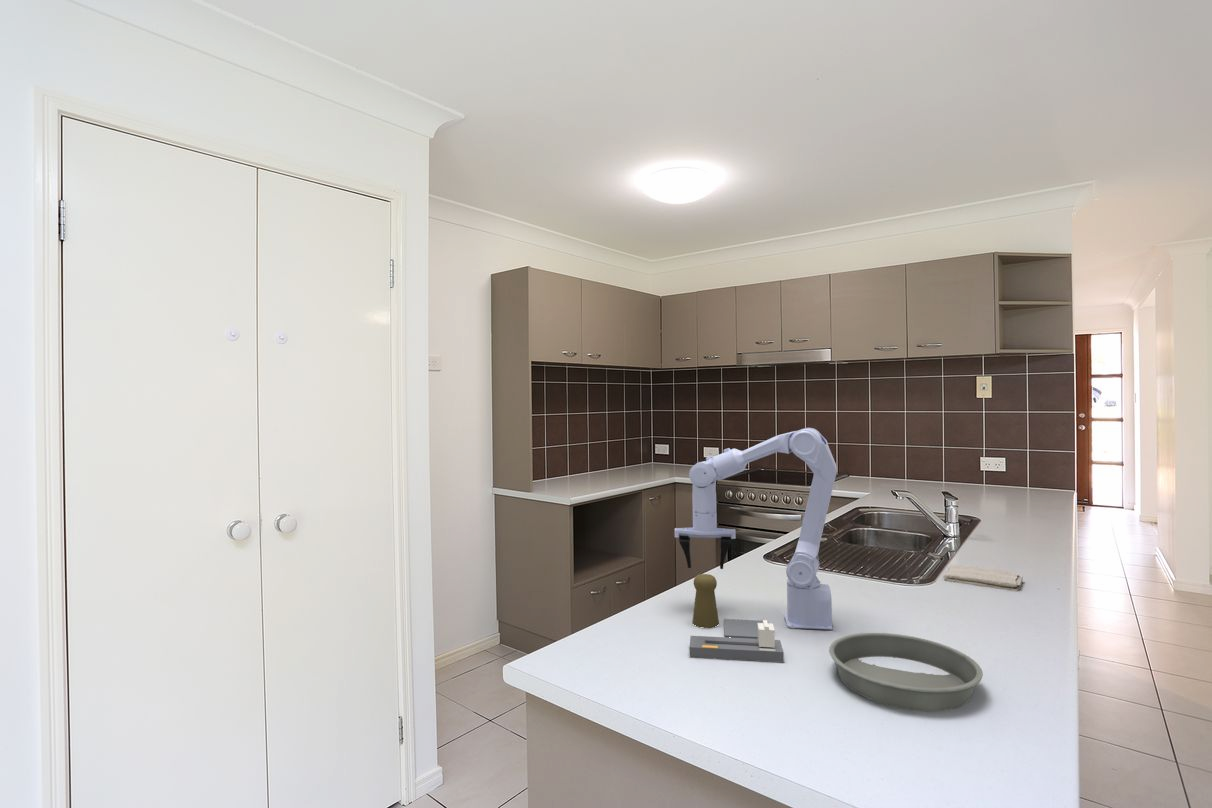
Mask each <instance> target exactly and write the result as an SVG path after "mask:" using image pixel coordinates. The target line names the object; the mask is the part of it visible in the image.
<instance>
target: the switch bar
mask: <svg viewBox="0 0 1212 808" xmlns="http://www.w3.org/2000/svg"><path fill="white" fill-rule="evenodd" d="M784 654H785V652H784V649H783V646H782V642H781V639H775V648H773V647H759V644H758V639H749V638H729V637H724V636H705V635H704V636H703V635H690V639H689V658H695V659H696V658H699V659H713V658H716V659H715V660H717V659H718V660H731V659H732V660H733V661H734V660H735V661H751V660H752V661H754V662H767V661H770V663H771V662H773V663H785V662H784V659H785V658H784V656H785V655H784ZM732 660H731V661H732ZM752 661H751V662H752Z"/></svg>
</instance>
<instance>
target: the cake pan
mask: <svg viewBox="0 0 1212 808" xmlns="http://www.w3.org/2000/svg"><path fill="white" fill-rule="evenodd" d="M828 653H829V655H830V657H831V659H832V661H834V662H835V664H836V667H837V671H838V675H839V679H840V680H841V681H842V683H844V685H845V686H847V687H848V688H849V690H852V691H853V692H855V693H857V694H858V695H861V696H863V697H865V698H867V699H869V700H871V701H875V702H878V703H880V704H883V705H887V706H891V707H895V708H899V709H903V710H904V709H905V710H912V711H923V712H938V711H939V712H941V711H950V710H955V709H958V708H961V707H963V706H965V705H966V704H968V702H969V701H971V698H972V694H973V692H974V688H975V687H976V686H977V685H978V684H979V683H980V682H981V681H982V678H983V676H984V675H983V670H982V667H981V666H980V664H978V662H976V661H975V660H974V659H973V658H971V657H970V656H969V655H967V654H965V653H964V652H962V651H959V650H958V649H955V648H952V647H950V646H948V645H945V644H943V643H939V642H937V641H933V640H929V639H925V638H921V637H917V636H910V635H906V634H900V633H899V634H897V633H890V632H889V633H888V632H860V633H853V634H849V635H845V636H842V637H838V638H837V639H835V640H834V641H833V642H832V643H831V644H830V646H829V649H828ZM876 657H877V658H878V657H880V658H893V659H895V658H896V659H902V660H909V661H913V662H918V663H921V664H924V665H928V666H931V667H934V668H937V669H939V670H942V671H944V672H945V673H947V674H944V675H943V674H933V673H925V672H914V671H907V670H902V669H901V670H900V669H896V668H889V667H884V666H878V665H877V664H875V663H874V664H870V663H867V662H865V661H863V660H862V659H864V658H876Z"/></svg>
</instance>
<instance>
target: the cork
mask: <svg viewBox="0 0 1212 808" xmlns="http://www.w3.org/2000/svg"><path fill="white" fill-rule="evenodd" d="M717 584H718V582H717V579H716V576H714V575H712V574H709V573H701V574H697V575H695V576H694V578H693V586H694V589H695V597H694V605H693V606H694V607H693V614H692V625H693V624H694V625H696V626H695V627H697V626H698V627H697V628H700V627H704V628H703V629H712V628H711V627H714V628H716V627H715V626H717V625H718V624H719V625H720V621H719V620H720V619H719V614H718V607H717V601H716V594H715V590H716V588H717V586H718V585H717ZM694 625H693V626H694ZM717 627H718V626H717Z"/></svg>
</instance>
